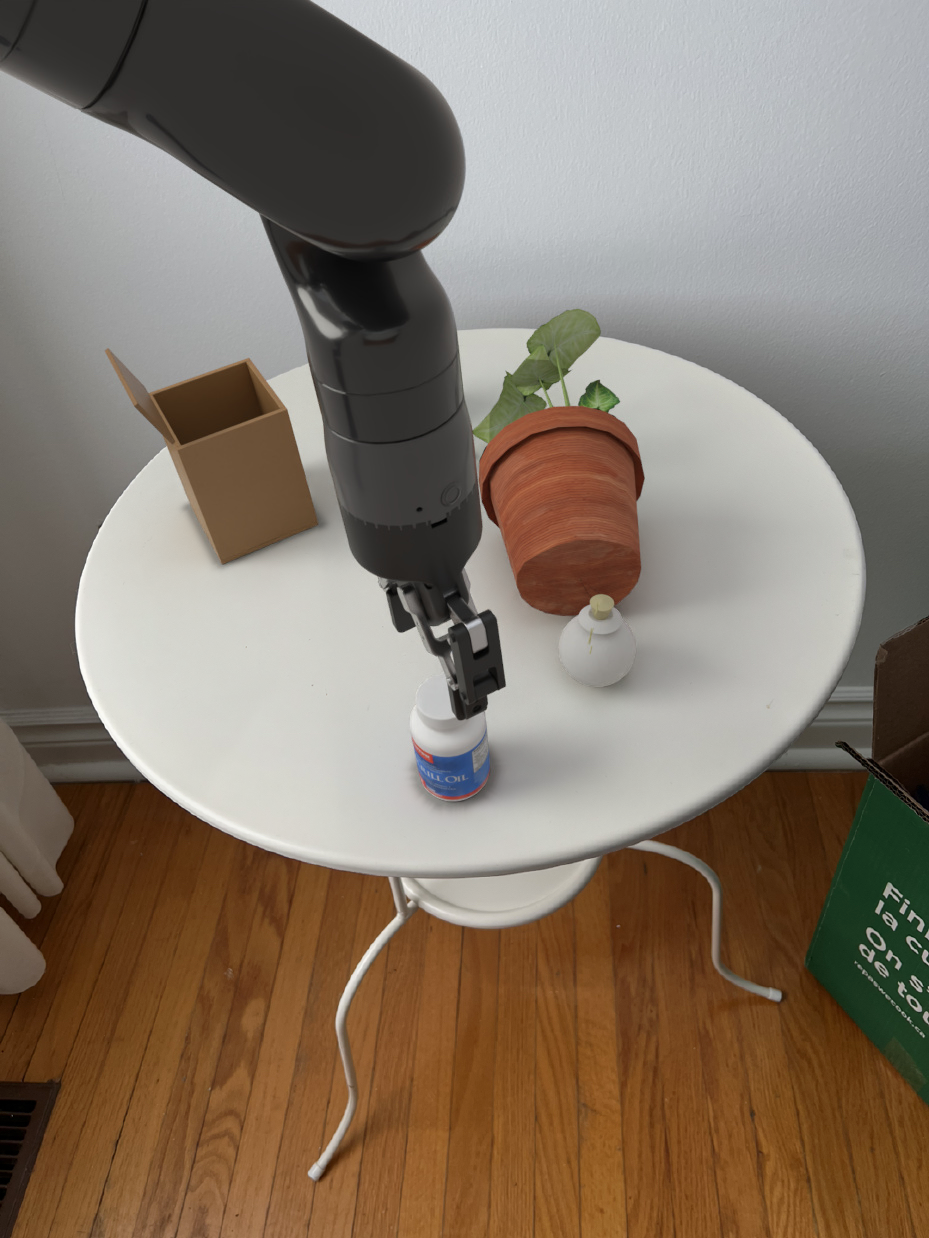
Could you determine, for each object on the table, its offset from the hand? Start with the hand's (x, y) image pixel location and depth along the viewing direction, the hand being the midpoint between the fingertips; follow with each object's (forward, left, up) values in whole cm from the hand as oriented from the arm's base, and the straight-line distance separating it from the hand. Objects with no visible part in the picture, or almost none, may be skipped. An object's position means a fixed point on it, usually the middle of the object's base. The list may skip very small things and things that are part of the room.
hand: (439, 666), depth 60 cm
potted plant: (+22, +22, -13) cm, 34 cm away
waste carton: (-3, +37, -13) cm, 39 cm away
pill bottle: (0, 0, -13) cm, 13 cm away
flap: (-9, +37, +4) cm, 38 cm away
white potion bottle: (+13, +2, -13) cm, 19 cm away
